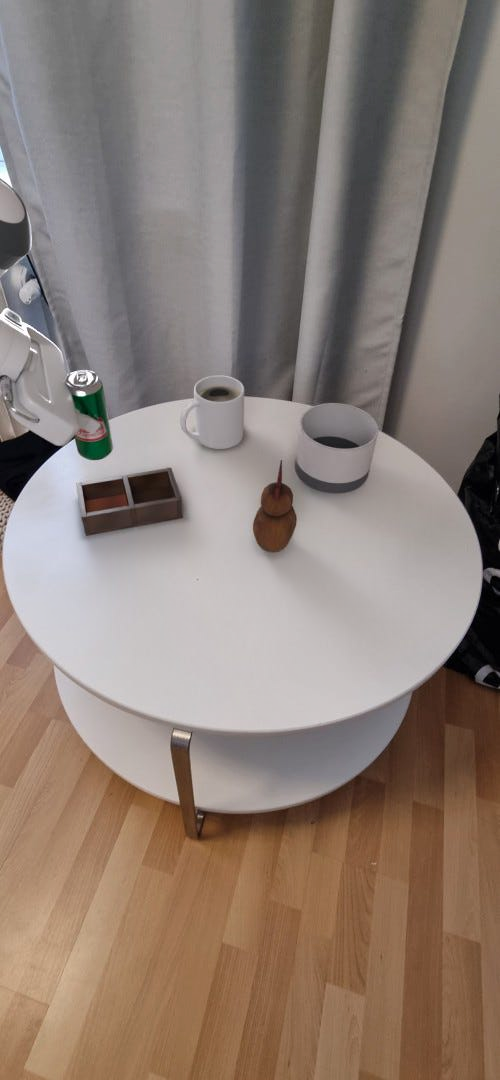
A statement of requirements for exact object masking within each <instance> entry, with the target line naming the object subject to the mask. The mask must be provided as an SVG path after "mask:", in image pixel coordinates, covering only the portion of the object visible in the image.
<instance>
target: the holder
mask: <svg viewBox="0 0 500 1080" xmlns="http://www.w3.org/2000/svg"><path fill="white" fill-rule="evenodd" d="M75 485H76V492H77V498H78V504H79V506H78V507H79V512H80V518H81V522H82V527H83V531H84V535H85V537H89V536H94V535H98V534H104V533H109V532H110V533H111V532H116V531H121V530H126V529H133V528H137V527H143V526H148V525H153V524H159V523H164V522H170V521H176V520H180V519H184V513H183V511H184V510H183V499H182V496H181V493H180V490H179V487H178V484H177V480H176V477H175V474H174V472H173V468H172V467H166V468H159V469H153V470H146V471H141V472H135V473H129V474H123V475H117V476H111V477H104V478H98V479H93V480H86V481H82V482H76V484H75Z"/></svg>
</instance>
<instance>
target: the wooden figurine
mask: <svg viewBox="0 0 500 1080" xmlns="http://www.w3.org/2000/svg"><path fill="white" fill-rule="evenodd" d="M276 479H277V480H276V482H271V483H269V484H267V485H266V486H265V487H264V488H263V490H262V492H261V495H260V507H258V510H257V511H256V513H255V516H254V519H253V523H252V532H253V535H254V539H255V541H256V544H257V545H258V546H259V547H260V548H261V549H262V550H263V551H265V552H268V553H278V552H281V551H282V550H284V549H285V548H286V547H287V546H288V544H289V543H290V541H291V539H292V537H293V535H294V532H295V529H296V527H297V522H298V520H297V519H298V518H297V513H296V510H295V508H294V506H293V503H294V494H293V491H292V488H291V487H290V486H288V485H287V484H285V483H283V460H282V459H281V460H280V463H279V468H278V473H277V478H276Z"/></svg>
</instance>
